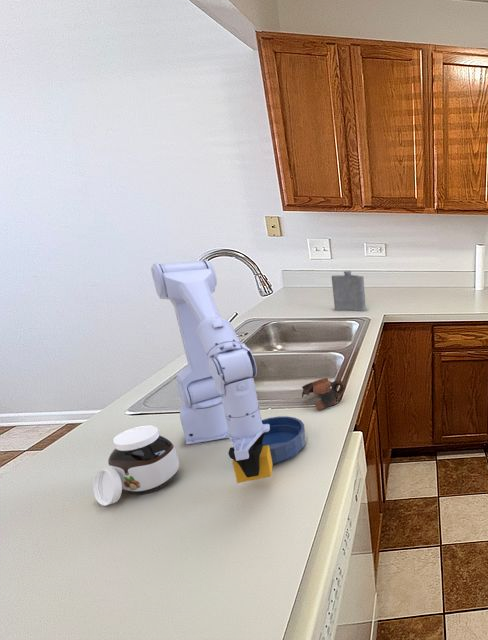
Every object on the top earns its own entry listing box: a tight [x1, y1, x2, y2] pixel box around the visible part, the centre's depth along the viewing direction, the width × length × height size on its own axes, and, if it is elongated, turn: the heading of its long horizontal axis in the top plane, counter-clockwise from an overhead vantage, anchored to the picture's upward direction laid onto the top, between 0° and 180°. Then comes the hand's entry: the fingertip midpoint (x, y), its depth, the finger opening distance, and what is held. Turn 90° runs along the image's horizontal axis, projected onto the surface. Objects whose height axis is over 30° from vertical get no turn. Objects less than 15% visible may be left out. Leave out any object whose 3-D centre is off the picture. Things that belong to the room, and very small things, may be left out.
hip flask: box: [331, 270, 367, 312], centre depth 202 cm, size 16×4×20 cm, turn 90°
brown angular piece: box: [301, 377, 346, 411], centre depth 115 cm, size 12×10×8 cm
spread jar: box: [92, 424, 180, 506], centre depth 78 cm, size 12×11×12 cm
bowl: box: [261, 415, 307, 465], centre depth 93 cm, size 14×14×4 cm
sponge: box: [232, 445, 274, 484], centre depth 80 cm, size 6×4×5 cm, turn 111°
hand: (254, 468), depth 80 cm, fingers closed on sponge, 4 cm apart
